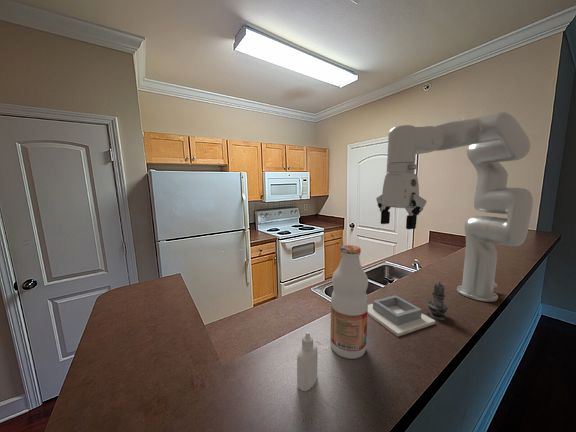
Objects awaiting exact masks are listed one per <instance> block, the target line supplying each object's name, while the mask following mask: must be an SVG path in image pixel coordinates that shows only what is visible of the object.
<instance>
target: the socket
mask: <svg viewBox="0 0 576 432" xmlns="http://www.w3.org/2000/svg"><path fill="white" fill-rule="evenodd" d="M367 316H369V317H371V318H372V319H373V320H375V321H376V322H377V323H378V324H380V325H382V326H383V327H384V328H386V329H387V330H388V331H389V332H391V333H392V334H393V335H395V337H401V336H405V335H407V334H410V333H413V332H415V331H418V330H422V329H424V328H427V327H430V326H433V325H436V319H434V318H432V317H430V316H429V315H426V314H424V313H423V311H422V308H420V307H418V306H417V305H414V304H413V303H411V302H409V301H407V300H405V299H403V298H401V297H400V296H398V295H396V294H395V295H391V296H387V297H383V298H379V299H378V298H377V299H375V300H373V301H372V303H370V304H369V303H368V313H367Z"/></svg>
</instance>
